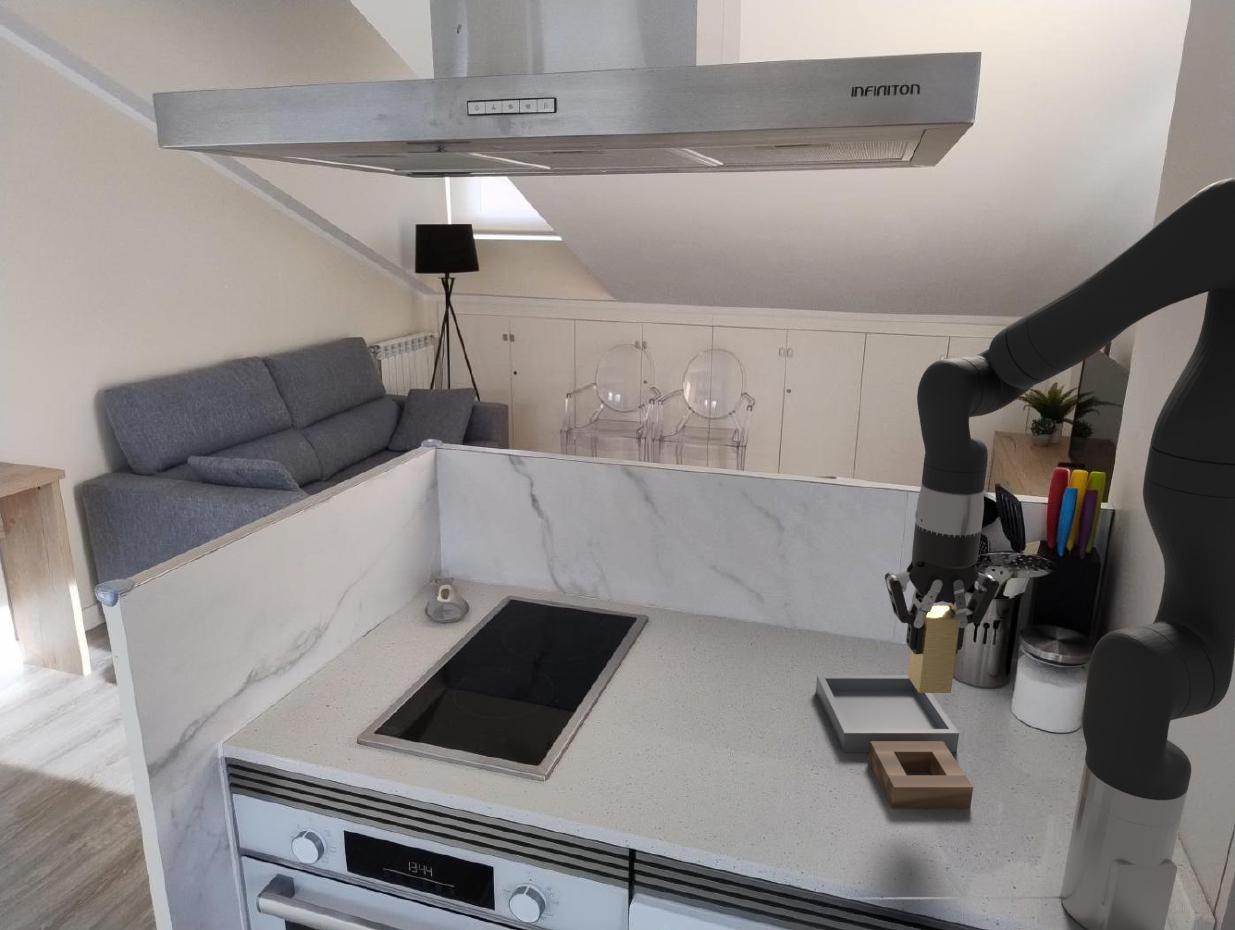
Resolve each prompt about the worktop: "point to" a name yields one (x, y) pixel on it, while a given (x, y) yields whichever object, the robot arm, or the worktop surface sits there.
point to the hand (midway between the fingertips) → (933, 650)
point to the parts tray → (882, 711)
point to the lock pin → (936, 652)
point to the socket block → (919, 790)
